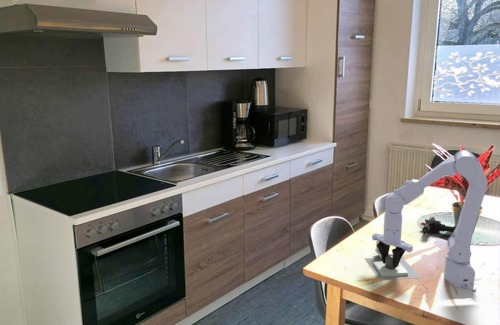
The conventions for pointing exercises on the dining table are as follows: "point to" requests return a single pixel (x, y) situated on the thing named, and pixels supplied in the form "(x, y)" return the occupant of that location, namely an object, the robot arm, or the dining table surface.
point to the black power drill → (435, 226)
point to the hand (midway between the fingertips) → (390, 264)
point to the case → (408, 268)
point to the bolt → (377, 249)
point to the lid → (389, 267)
